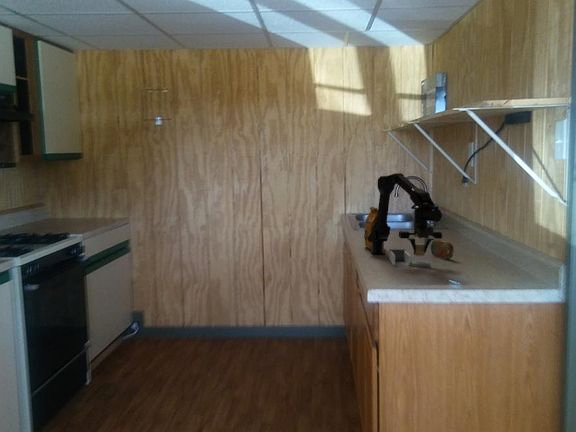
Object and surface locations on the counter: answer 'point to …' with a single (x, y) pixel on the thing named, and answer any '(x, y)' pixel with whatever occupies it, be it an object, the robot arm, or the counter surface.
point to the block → (419, 249)
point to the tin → (442, 249)
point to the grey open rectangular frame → (399, 255)
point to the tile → (419, 263)
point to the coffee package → (370, 226)
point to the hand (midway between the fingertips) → (419, 253)
